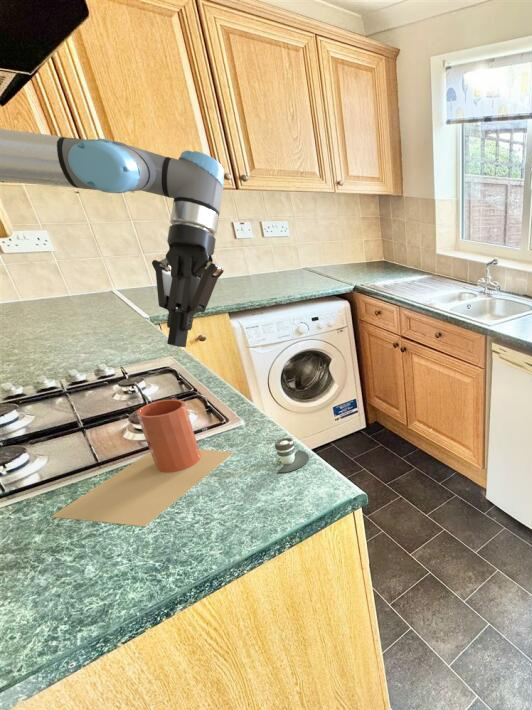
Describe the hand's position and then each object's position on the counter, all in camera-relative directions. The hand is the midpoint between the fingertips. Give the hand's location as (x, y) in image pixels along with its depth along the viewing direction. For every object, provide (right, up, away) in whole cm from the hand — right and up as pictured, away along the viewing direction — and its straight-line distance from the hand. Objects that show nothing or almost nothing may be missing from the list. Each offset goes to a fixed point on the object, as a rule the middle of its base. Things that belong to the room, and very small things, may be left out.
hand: (176, 345), depth 82 cm
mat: (0, -26, -5) cm, 26 cm away
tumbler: (0, -23, 0) cm, 23 cm away
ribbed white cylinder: (+21, -24, +3) cm, 31 cm away
